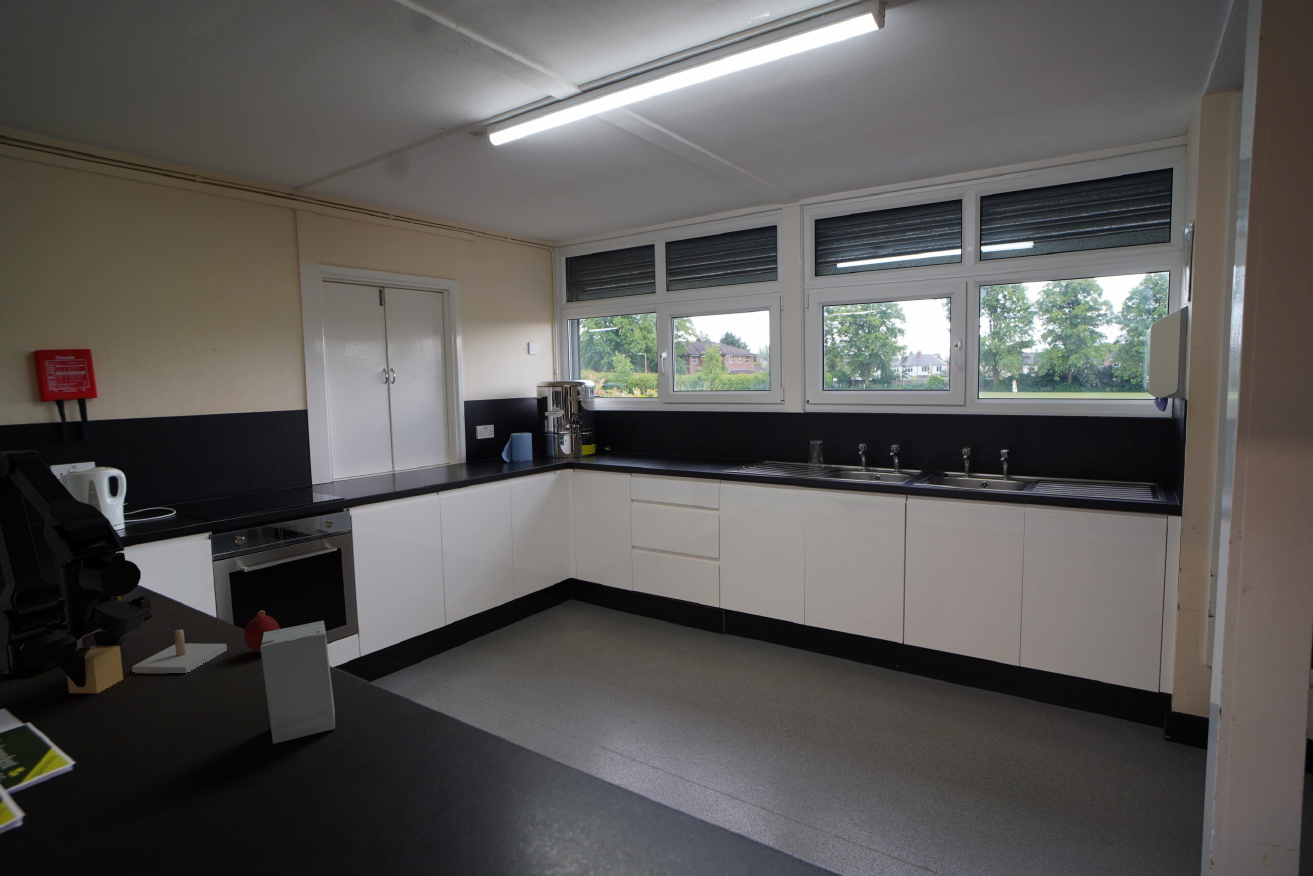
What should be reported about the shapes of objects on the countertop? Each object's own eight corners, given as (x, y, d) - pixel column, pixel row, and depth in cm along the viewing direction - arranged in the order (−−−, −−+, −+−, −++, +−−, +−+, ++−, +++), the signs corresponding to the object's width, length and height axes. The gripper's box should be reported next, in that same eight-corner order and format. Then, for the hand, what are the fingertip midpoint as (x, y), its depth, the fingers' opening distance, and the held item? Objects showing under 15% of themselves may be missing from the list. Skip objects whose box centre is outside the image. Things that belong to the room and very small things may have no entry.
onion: (265, 660, 123) (261, 617, 122) (238, 658, 124) (234, 616, 123) (288, 647, 129) (285, 606, 128) (262, 645, 130) (258, 605, 129)
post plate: (132, 673, 119) (129, 641, 118) (177, 649, 129) (174, 620, 128) (186, 673, 118) (183, 642, 118) (227, 650, 128) (224, 620, 128)
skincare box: (334, 713, 103) (327, 618, 102) (335, 731, 98) (327, 632, 96) (271, 727, 100) (263, 629, 98) (268, 747, 94) (259, 643, 93)
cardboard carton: (69, 693, 112) (65, 658, 111) (96, 679, 117) (92, 645, 116) (97, 693, 112) (93, 658, 111) (123, 679, 117) (119, 645, 116)
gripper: (78, 609, 103) (89, 707, 104) (175, 572, 121) (183, 656, 123) (11, 608, 104) (23, 706, 105) (117, 572, 122) (126, 655, 124)
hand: (95, 679), depth 114 cm, fingers closed on cardboard carton, 5 cm apart
